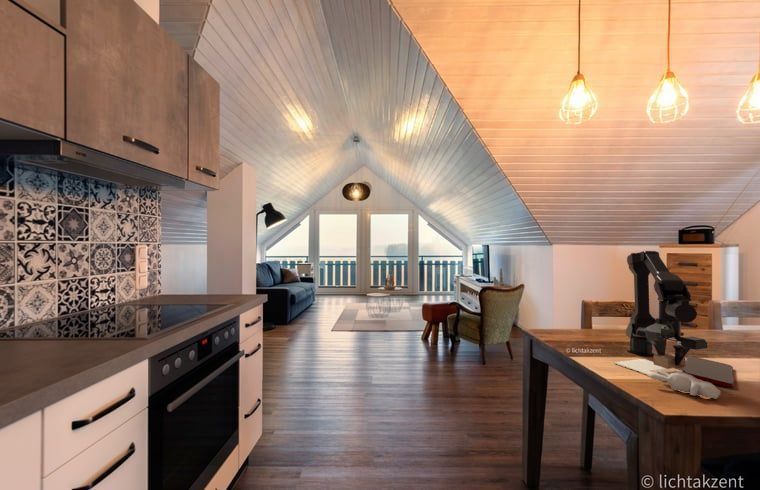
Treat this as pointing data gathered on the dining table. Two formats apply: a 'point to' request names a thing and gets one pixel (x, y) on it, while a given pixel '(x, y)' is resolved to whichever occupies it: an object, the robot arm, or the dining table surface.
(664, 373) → the bunny figurine
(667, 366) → the slotted tan box
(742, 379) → the dining table surface
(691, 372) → the grey and red slab
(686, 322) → the robot arm
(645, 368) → the mat
